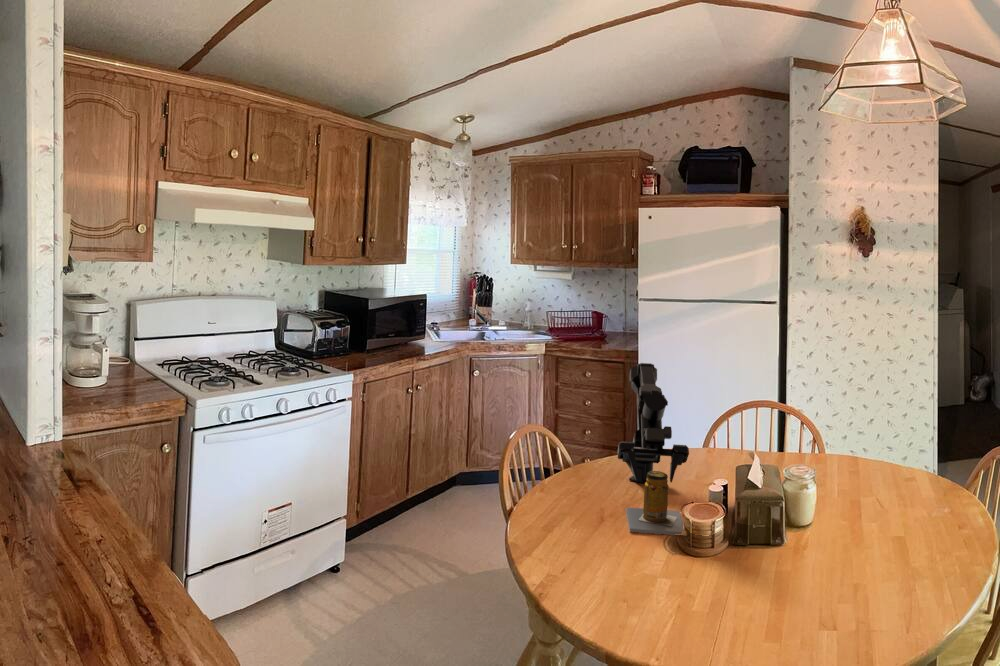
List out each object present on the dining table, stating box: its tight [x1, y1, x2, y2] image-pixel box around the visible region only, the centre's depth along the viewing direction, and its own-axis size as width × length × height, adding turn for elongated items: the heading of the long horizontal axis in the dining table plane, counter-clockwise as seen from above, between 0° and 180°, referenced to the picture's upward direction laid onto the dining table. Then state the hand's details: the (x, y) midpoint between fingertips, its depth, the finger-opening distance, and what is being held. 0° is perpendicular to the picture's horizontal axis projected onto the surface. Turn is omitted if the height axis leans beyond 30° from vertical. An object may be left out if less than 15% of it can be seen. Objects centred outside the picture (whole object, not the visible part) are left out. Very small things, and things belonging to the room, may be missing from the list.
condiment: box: [639, 470, 677, 526], centre depth 175 cm, size 7×8×12 cm
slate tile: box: [625, 506, 684, 536], centre depth 176 cm, size 14×14×1 cm
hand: (653, 480), depth 182 cm, fingers open, 9 cm apart
